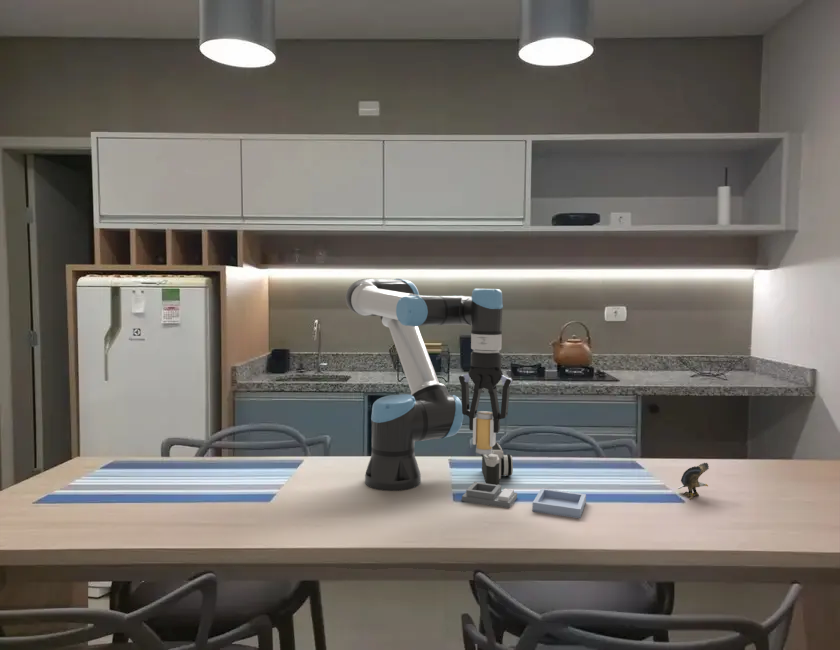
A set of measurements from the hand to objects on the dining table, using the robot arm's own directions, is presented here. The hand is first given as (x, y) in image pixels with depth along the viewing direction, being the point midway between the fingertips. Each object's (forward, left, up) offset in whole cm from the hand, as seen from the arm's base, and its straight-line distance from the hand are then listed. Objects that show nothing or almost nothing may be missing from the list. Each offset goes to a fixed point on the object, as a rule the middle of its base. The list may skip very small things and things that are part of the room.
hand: (484, 444), depth 146 cm
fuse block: (+2, 0, -14) cm, 14 cm away
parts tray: (+19, +1, -14) cm, 23 cm away
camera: (-1, +18, -14) cm, 23 cm away
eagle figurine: (+49, +24, -14) cm, 56 cm away
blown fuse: (0, 0, -2) cm, 2 cm away
